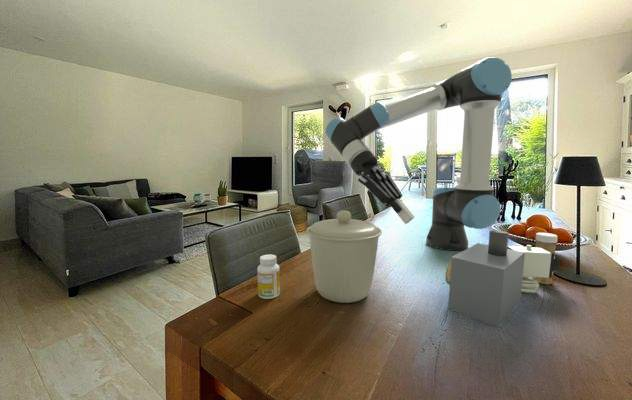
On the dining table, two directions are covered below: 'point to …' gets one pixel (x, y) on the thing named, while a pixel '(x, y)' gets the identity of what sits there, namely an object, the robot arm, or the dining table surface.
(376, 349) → the dining table surface
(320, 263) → the canister
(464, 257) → the block
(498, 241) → the grey upright block
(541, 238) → the sprinkles bottle
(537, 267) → the pneumatic valve
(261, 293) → the supplement bottle
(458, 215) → the robot arm
